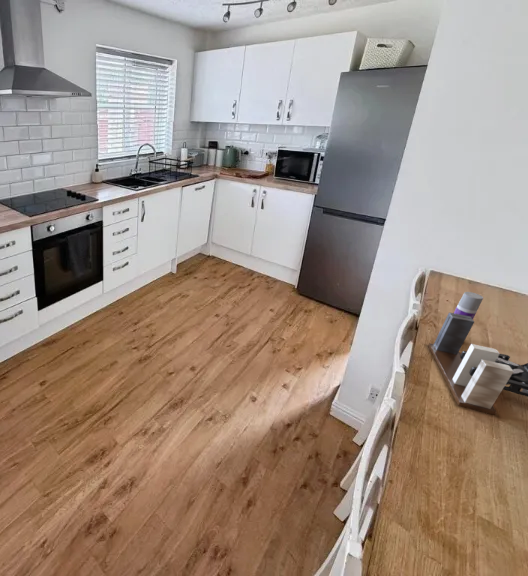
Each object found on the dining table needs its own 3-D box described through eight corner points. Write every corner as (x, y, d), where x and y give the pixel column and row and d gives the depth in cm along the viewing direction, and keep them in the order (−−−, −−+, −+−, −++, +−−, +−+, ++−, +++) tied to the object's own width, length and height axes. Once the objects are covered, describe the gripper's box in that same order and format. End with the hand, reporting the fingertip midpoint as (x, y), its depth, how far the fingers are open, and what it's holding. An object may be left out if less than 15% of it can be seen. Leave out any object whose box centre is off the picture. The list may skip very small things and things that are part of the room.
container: (458, 343, 112) (481, 300, 105) (440, 336, 115) (461, 293, 108) (463, 339, 114) (486, 296, 107) (446, 332, 117) (466, 290, 111)
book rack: (455, 352, 107) (474, 316, 102) (494, 415, 85) (520, 374, 80) (427, 345, 110) (444, 311, 104) (458, 405, 87) (481, 364, 82)
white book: (475, 384, 93) (496, 349, 88) (478, 389, 91) (500, 353, 86) (452, 379, 94) (471, 343, 90) (454, 383, 93) (474, 348, 88)
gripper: (545, 353, 90) (463, 335, 95) (580, 389, 78) (483, 367, 83) (529, 377, 93) (450, 358, 99) (560, 416, 81) (469, 392, 87)
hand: (466, 362), depth 91 cm, fingers open, 6 cm apart
